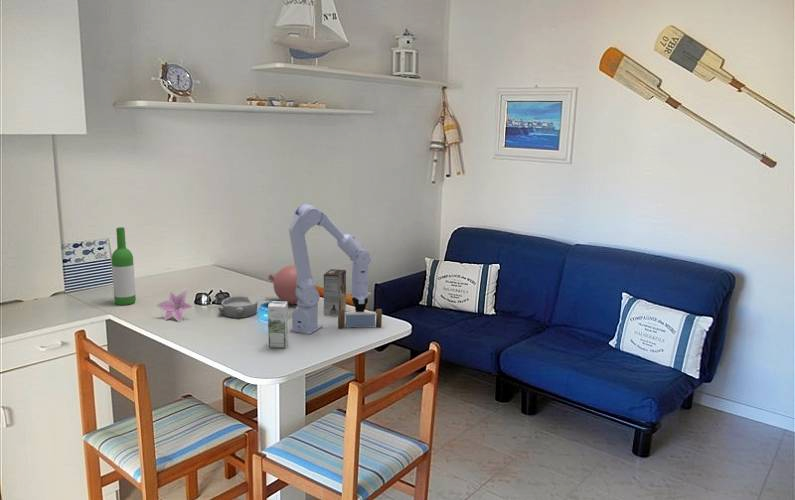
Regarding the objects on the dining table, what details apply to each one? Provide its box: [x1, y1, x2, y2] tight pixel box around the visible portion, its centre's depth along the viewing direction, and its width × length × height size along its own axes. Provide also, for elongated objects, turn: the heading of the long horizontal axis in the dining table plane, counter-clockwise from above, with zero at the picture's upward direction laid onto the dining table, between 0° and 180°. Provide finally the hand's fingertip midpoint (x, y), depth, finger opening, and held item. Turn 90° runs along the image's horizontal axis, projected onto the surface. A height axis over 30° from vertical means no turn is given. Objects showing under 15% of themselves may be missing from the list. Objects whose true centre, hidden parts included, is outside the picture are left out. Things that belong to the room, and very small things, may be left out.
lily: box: [156, 290, 193, 323], centre depth 235 cm, size 12×12×10 cm
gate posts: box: [337, 308, 383, 330], centre depth 230 cm, size 16×2×6 cm, turn 98°
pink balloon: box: [268, 264, 299, 305], centre depth 257 cm, size 15×20×15 cm
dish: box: [217, 295, 258, 319], centre depth 243 cm, size 14×14×5 cm
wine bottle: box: [111, 226, 137, 306], centre depth 249 cm, size 8×8×30 cm
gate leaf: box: [345, 311, 376, 328], centre depth 230 cm, size 11×2×5 cm, turn 98°
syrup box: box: [267, 300, 289, 349], centre depth 209 cm, size 6×6×14 cm
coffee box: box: [323, 268, 347, 317], centre depth 245 cm, size 9×6×16 cm
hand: (359, 317), depth 236 cm, fingers closed
